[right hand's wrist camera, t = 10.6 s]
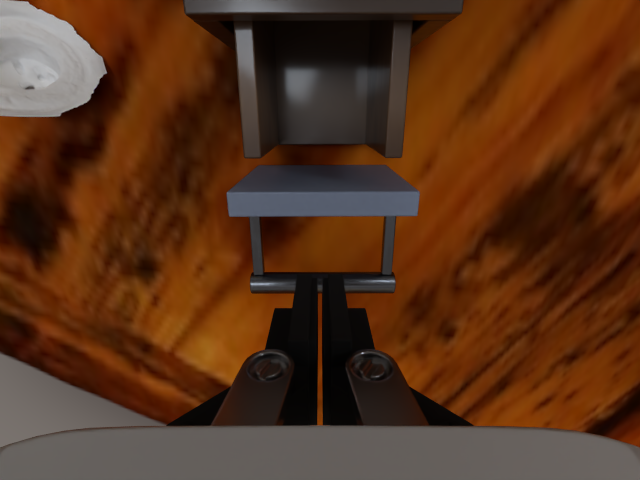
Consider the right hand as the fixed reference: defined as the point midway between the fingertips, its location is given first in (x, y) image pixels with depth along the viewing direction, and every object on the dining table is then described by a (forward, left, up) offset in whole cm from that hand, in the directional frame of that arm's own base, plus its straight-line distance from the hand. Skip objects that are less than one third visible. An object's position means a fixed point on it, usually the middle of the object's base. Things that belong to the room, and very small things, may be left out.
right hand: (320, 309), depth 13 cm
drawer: (+5, 0, -13) cm, 14 cm away
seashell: (+8, +18, -14) cm, 25 cm away
